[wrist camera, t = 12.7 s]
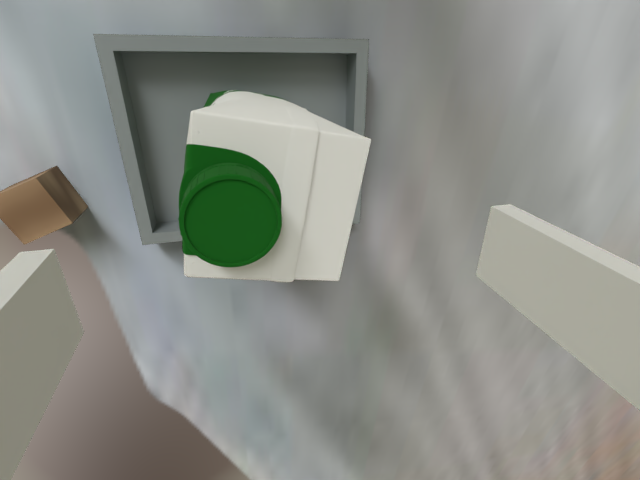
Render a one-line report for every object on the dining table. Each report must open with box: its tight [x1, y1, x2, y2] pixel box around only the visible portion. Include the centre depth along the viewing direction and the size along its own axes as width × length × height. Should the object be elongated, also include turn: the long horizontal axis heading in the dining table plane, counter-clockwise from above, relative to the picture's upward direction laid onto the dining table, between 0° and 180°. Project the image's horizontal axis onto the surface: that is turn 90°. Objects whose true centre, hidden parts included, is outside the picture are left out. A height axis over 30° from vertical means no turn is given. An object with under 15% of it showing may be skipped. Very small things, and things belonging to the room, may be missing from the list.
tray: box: [93, 34, 369, 245], centre depth 32 cm, size 16×20×3 cm
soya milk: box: [178, 90, 371, 282], centre depth 24 cm, size 9×9×20 cm
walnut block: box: [0, 166, 88, 244], centre depth 29 cm, size 4×4×4 cm
